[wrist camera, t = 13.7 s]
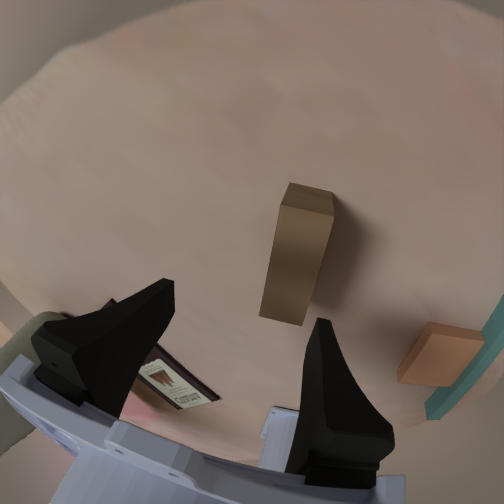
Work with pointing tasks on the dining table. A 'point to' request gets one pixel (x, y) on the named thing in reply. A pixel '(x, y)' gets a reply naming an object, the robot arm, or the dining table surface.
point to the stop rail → (470, 367)
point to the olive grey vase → (3, 414)
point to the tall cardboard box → (297, 253)
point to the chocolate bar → (172, 379)
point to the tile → (440, 355)
